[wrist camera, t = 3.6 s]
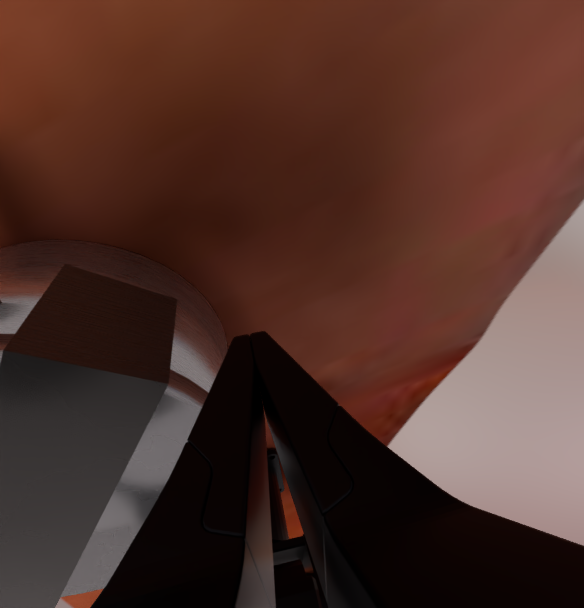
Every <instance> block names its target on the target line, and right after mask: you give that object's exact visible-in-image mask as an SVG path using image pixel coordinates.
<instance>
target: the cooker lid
mask: <svg viewBox="0 0 584 608" xmlns="http://www.w3.org/2000/svg"><path fill="white" fill-rule="evenodd" d="M176 309H177V299H175V298H172V297H169V296H165V295H162V294H159V293H156V292H153V291H150V290H146V289H143V288H140V287H137V286H134V285H131V284H128V283H124V282H121V281H118V280H115V279H112V278H109V277H106V276H102V275H99V274H96V273H93V272H90V271H87V270H83V269H80V268H77V267H74V266H71V265H68V264H64V266H63V267H62V269H61V270H60V271H59V273H58V274H57V276H56V277H55V278H54V280H53V281H52V283H51V284H50V285H49V287H48V288H47V290H46V291H45V292H44V294H43V295H42V297H41V298H40V299H39V301H38V302H37V304H36V305H35V306H34V308H33V309H32V311H31V312H30V313H29V315H28V316H27V318H26V319H25V320H24V322H23V323H22V325H21V326H20V327H19V329H18V330H17V332H16V333H15V334H0V608H55V606H56V604H57V603H58V601H59V599H60V597H64V596H69V595H75V594H81V593H85V592H90V591H94V590H98V589H103V588H105V586H106V585H107V583H108V582H109V580H110V578H111V577H112V575H113V573H114V572H115V570H116V568H117V567H118V565H119V563H120V562H121V560H122V558H123V557H124V555H125V553H126V551H127V550H128V548H129V546H130V545H131V543H132V541H133V540H134V538H135V536H136V535H137V533H138V531H139V529H140V528H141V526H142V524H143V523H144V521H145V519H146V518H147V516H148V514H149V512H150V511H151V509H152V507H153V506H154V504H155V502H156V500H157V499H158V497H159V495H160V493H161V491H162V490H163V488H164V486H165V484H166V483H167V481H168V479H169V477H170V475H171V473H172V471H173V469H174V467H175V464H176V462H177V460H178V458H179V456H180V454H181V452H182V450H183V447H184V445H185V443H186V442H188V441H187V439H188V437H189V434H190V432H191V430H192V428H193V426H194V423H195V421H196V419H197V417H198V415H199V412H200V410H201V408H202V406H203V404H204V401H205V399H206V397H207V395H208V392H207V391H206V390H204V389H203V388H201V387H200V386H199V385H197V384H196V383H194V382H193V381H191V380H190V379H188V378H187V377H185V376H183V375H181V374H179V373H177V372H175V371H173V370H171V369H170V366H171V356H172V347H173V337H174V328H175V318H176Z"/></svg>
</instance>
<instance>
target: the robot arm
mask: <svg viewBox="0 0 584 608" xmlns="http://www.w3.org/2000/svg"><path fill="white" fill-rule="evenodd" d="M250 339H251V340H250ZM262 402H263V403H262ZM263 407H264V408H263ZM264 411H265V415H266V419H267V422H268V425H269V428H270V431H271V434H272V437H273V440H274V443H275V447H276V450H277V451H276V450H268V451H267V446H266V429H265V415H264ZM187 441H188V442H186V443H185V445H184V447H183V450H182V452H181V454H180V456H179V458H178V460H177V462H176V464H175V467H174V469H173V471H172V473H171V475H170V477H169V479H168V481H167V483H166V484H165V486H164V488H163V490H162V491H161V493H160V495H159V497H158V499H157V500H156V502H155V504H154V506H153V507H152V509H151V511H150V512H149V514H148V516H147V518H146V519H145V521H144V523H143V524H142V526H141V528H140V529H139V531H138V533H137V535H136V536H135V538H134V540H133V541H132V543H131V545H130V546H129V548H128V550H127V551H126V553H125V555H124V557H123V558H122V560H121V562H120V563H119V565H118V567H117V568H116V570H115V572H114V573H113V575H112V577H111V578H110V580H109V582H108V583H107V585H106V586H105V588H104V589H103V591H102V592H101V594H100V595H99V597H98V598H97V599H96V601H95V602H94V603H93V605H92V606H91V607H90V608H584V546H583V545H580V544H577V543H574V542H571V541H569V540H566V539H563V538H560V537H557V536H554V535H552V534H549V533H546V532H543V531H540V530H537V529H535V528H532V527H529V526H526V525H523V524H520V523H518V522H515V521H512V520H509V519H506V518H503V517H501V516H498V515H495V514H492V513H489V512H486V511H484V510H481V509H478V508H475V507H473V506H470V505H468V504H466V503H464V502H462V501H460V500H458V499H457V498H455V497H453V496H451V495H450V494H448V493H447V492H445V491H444V490H442V489H441V488H439V487H438V486H437V485H436V484H434V483H433V482H432V481H430V480H429V479H428V478H426V477H425V476H424V475H423V474H421V473H420V472H419V471H417V470H416V469H415V468H414V467H412V466H411V465H410V464H408V463H407V462H406V461H404V460H403V459H402V458H401V457H399V456H398V455H397V454H395V453H394V452H393V451H392V450H390V449H389V448H388V447H387V446H385V445H384V444H383V443H382V442H380V441H379V440H378V439H377V438H375V437H374V436H373V435H372V434H371V433H369V432H368V431H367V430H366V429H365V428H364V427H363V426H362V425H360V424H359V423H358V422H357V421H356V420H355V419H354V418H353V417H352V416H351V415H350V414H349V413H348V412H347V411H346V410H345V409H344V408H343V407H342V406H339V404H338V403H337V402H336V401H335V400H334V399H333V398H332V397H331V396H330V395H329V394H328V393H327V392H326V391H325V390H324V389H323V388H322V387H321V386H320V385H319V384H318V383H317V382H316V381H315V380H314V379H313V378H312V377H311V376H310V375H309V374H308V373H307V372H306V371H305V370H304V369H303V368H302V367H301V366H300V365H299V364H298V363H297V362H296V361H295V360H294V359H293V358H292V357H291V356H290V355H289V354H288V353H287V352H286V351H285V350H284V349H283V348H282V347H281V346H280V345H279V344H278V343H277V342H276V341H275V340H274V339H273V338H272V337H271V336H270V335H269V334H268V333H266V332H265V331H261V332H256V333H252V334H250V336H249V335H248V334H246V335H241V336H236V337H234V338H233V340H232V342H231V344H230V346H229V349H228V351H227V353H226V355H225V357H224V360H223V362H222V364H221V366H220V368H219V371H218V373H217V375H216V377H215V379H214V382H213V384H212V386H211V388H210V390H209V393H208V395H207V397H206V399H205V401H204V404H203V406H202V408H201V410H200V412H199V415H198V417H197V419H196V421H195V423H194V426H193V428H192V430H191V432H190V434H189V437H188V439H187ZM277 453H278V454H277ZM278 456H279V459H280V462H281V465H282V468H283V471H284V474H285V477H286V480H287V483H288V486H289V489H290V492H291V495H292V498H293V501H294V504H295V507H296V510H297V514H298V517H299V520H300V523H301V526H302V529H303V532H304V534H303V536H300V537H296V538H292V539H289V537H288V531H287V526H286V521H285V515H284V510H283V505H282V499H281V494H280V493H281V492H283V491H284V485H283V480H282V474H281V469H280V464H279V459H278Z"/></svg>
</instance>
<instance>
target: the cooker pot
mask: <svg viewBox="0 0 584 608" xmlns="http://www.w3.org/2000/svg"><path fill="white" fill-rule="evenodd" d="M64 264H68V265H71V266H74V267H77V268H80V269H83V270H87V271H90V272H93V273H96V274H99V275H102V276H106V277H109V278H112V279H115V280H118V281H121V282H124V283H128V284H131V285H134V286H137V287H140V288H143V289H146V290H150V291H153V292H156V293H159V294H162V295H165V296H169V297H172V298H175V299H177V309H176V318H175V328H174V337H173V347H172V356H171V366H170V369H171V370H173V371H175V372H177V373H179V374H181V375H183V376H185V377H187V378H188V379H190V380H191V381H193V382H194V383H196V384H197V385H199V386H200V387H201V388H203V389H204V390H206V391H207V392H208V393H209V390H210V388H211V386H212V384H213V382H214V379H215V377H216V375H217V373H218V371H219V368H220V366H221V364H222V362H223V360H224V357H225V355H226V353H227V351H228V349H227V342H226V336H225V333H224V330H223V327H222V324H221V322H220V320H219V318H218V316H217V314H216V312H215V311H214V309H213V308H212V306H211V305H210V304H209V302H208V301H207V300H206V298H205V297H204V296H203V295H202V294H201V293H200V292H199V291H198V290H197V289H196V288H195V287H194V286H193V285H191V284H190V283H189V282H188V281H186V280H185V279H184V278H182V277H181V276H180V275H179V274H177V273H175V272H174V271H172V270H170V269H169V268H167V267H165V266H164V265H162V264H160V263H158V262H156V261H153V260H151V259H149V258H147V257H145V256H143V255H140V254H137V253H134V252H131V251H128V250H125V249H122V248H118V247H114V246H109V245H105V244H100V243H94V242H85V241H77V240H43V241H33V242H25V243H20V244H16V245H11V246H6V247H3V248H0V334H15V333H16V332H17V330H18V329H19V327H20V326H21V325H22V323H23V322H24V320H25V319H26V318H27V316H28V315H29V313H30V312H31V311H32V309H33V308H34V306H35V305H36V304H37V302H38V301H39V299H40V298H41V297H42V295H43V294H44V292H45V291H46V290H47V288H48V287H49V285H50V284H51V283H52V281H53V280H54V278H55V277H56V276H57V274H58V273H59V271H60V270H61V269H62V267H63V266H64Z"/></svg>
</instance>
